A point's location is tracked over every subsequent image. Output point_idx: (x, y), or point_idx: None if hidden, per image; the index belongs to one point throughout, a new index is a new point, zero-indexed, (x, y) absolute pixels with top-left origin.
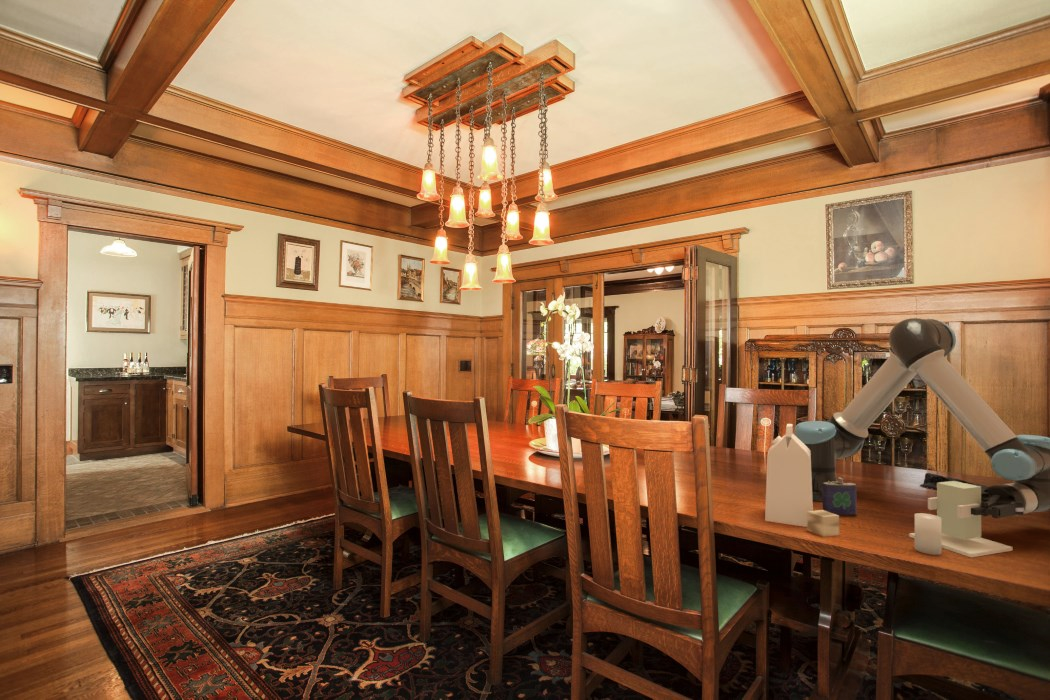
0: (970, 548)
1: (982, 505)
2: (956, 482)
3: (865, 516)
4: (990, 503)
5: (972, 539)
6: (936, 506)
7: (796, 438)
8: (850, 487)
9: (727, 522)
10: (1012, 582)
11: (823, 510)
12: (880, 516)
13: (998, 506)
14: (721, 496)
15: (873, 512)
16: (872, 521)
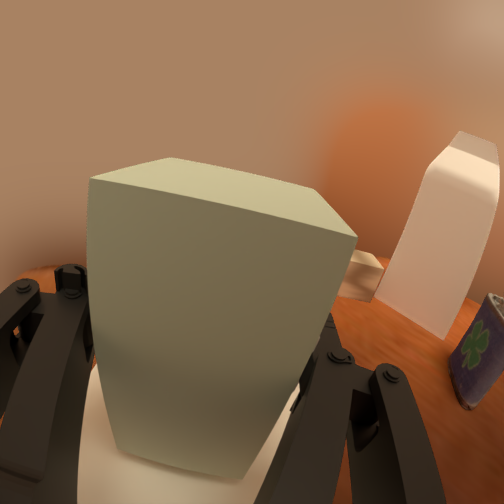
0: None
1: (83, 285)
2: (292, 207)
3: (461, 422)
4: (33, 353)
5: (161, 484)
6: None
7: (482, 165)
8: (500, 326)
9: (387, 259)
10: (53, 269)
11: (380, 267)
12: (467, 457)
13: (1, 310)
14: None
15: (494, 462)
16: (424, 407)
